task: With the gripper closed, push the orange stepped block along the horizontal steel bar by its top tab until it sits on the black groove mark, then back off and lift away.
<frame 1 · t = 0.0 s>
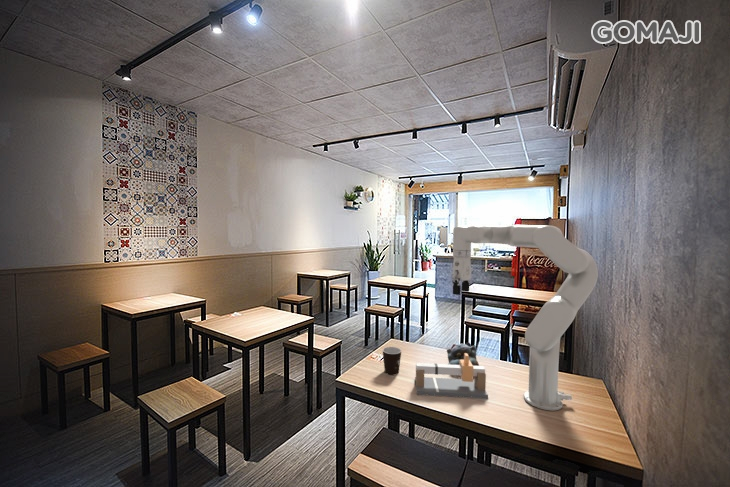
hand: (461, 292, 137), 37 cm above the table, tool pointing down, fingers open, 9 cm apart
orange stepped block: (466, 366, 126), point 10 cm above the table, slide at 0.0 cm
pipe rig: (449, 388, 126), on the table
coffee mug: (394, 371, 143), on the table
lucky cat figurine: (461, 371, 144), on the table
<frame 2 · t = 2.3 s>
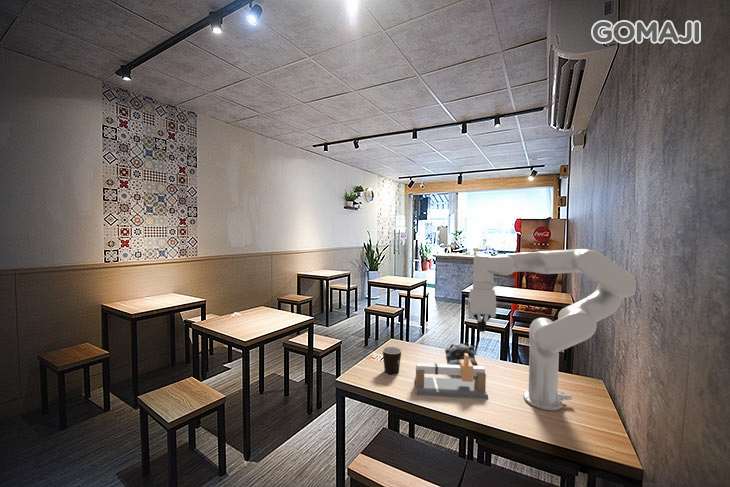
hand: (481, 330, 125), 24 cm above the table, tool pointing down, fingers closed
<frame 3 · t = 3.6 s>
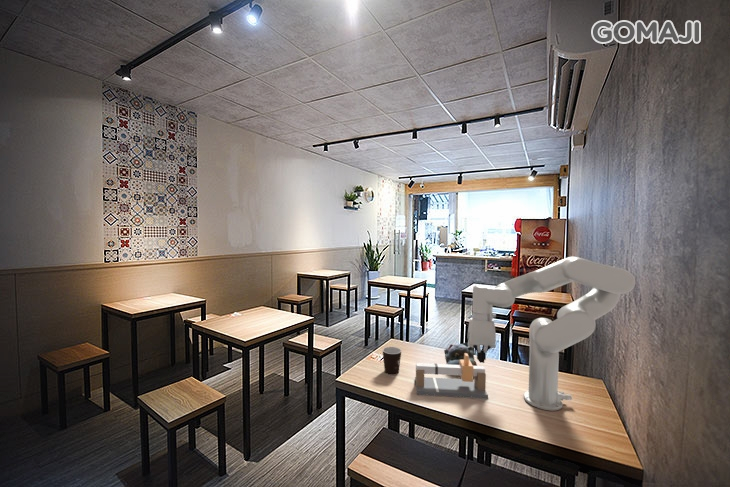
hand: (481, 361, 125), 12 cm above the table, tool pointing down, fingers closed
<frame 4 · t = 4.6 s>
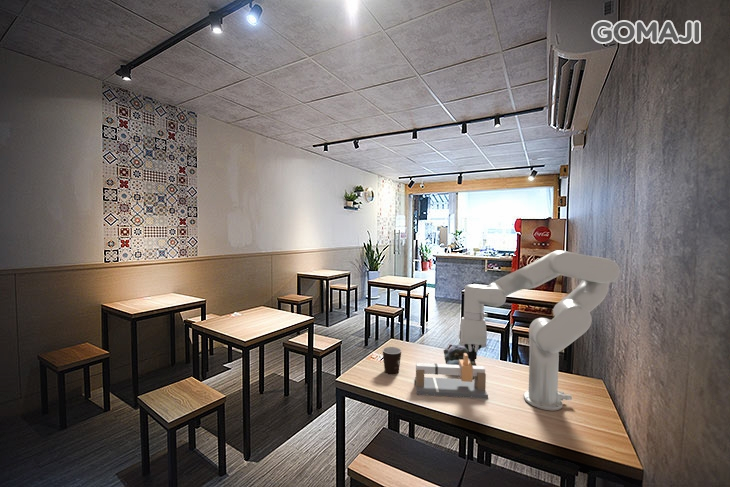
hand: (472, 360, 125), 12 cm above the table, tool pointing down, fingers closed
orange stepped block: (465, 366, 126), point 10 cm above the table, slide at 0.3 cm, touching gripper
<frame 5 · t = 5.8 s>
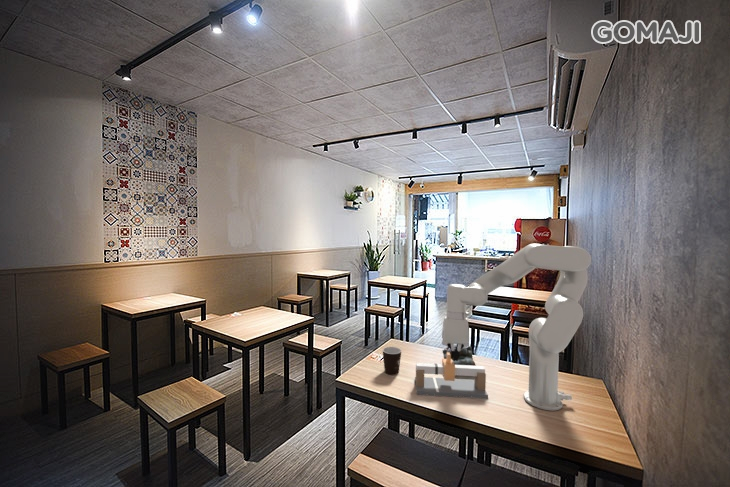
hand: (454, 359, 126), 12 cm above the table, tool pointing down, fingers closed
orange stepped block: (448, 365, 126), point 10 cm above the table, slide at 7.1 cm, touching gripper
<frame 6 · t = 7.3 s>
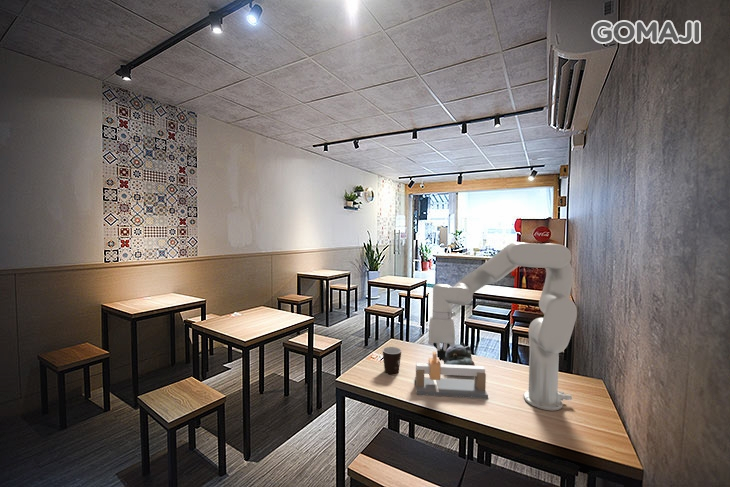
hand: (441, 359, 126), 12 cm above the table, tool pointing down, fingers closed
orange stepped block: (434, 364, 127), point 10 cm above the table, slide at 12.7 cm, touching gripper
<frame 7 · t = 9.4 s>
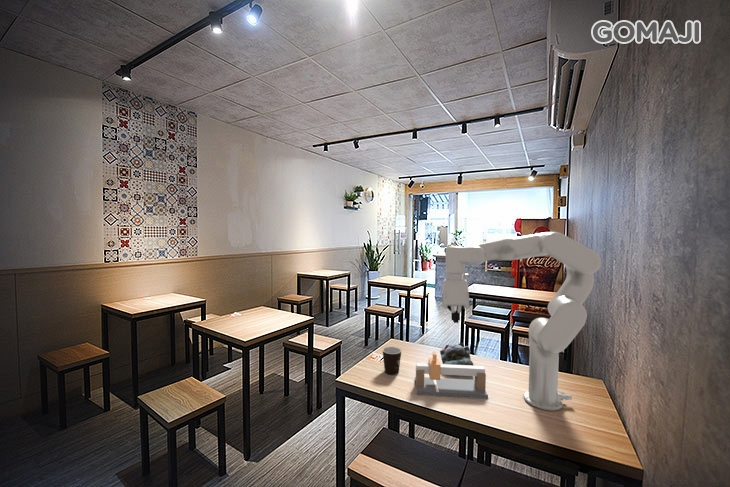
hand: (455, 321, 125), 28 cm above the table, tool pointing down, fingers closed
orange stepped block: (434, 364, 127), point 10 cm above the table, slide at 12.7 cm
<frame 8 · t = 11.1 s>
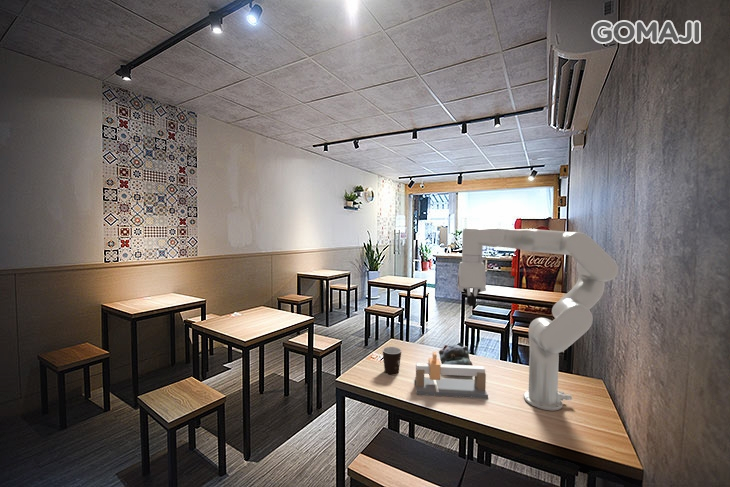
hand: (471, 305, 123), 35 cm above the table, tool pointing down, fingers closed
at the end: orange stepped block slide at 12.7 cm; orange stepped block touching nothing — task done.
